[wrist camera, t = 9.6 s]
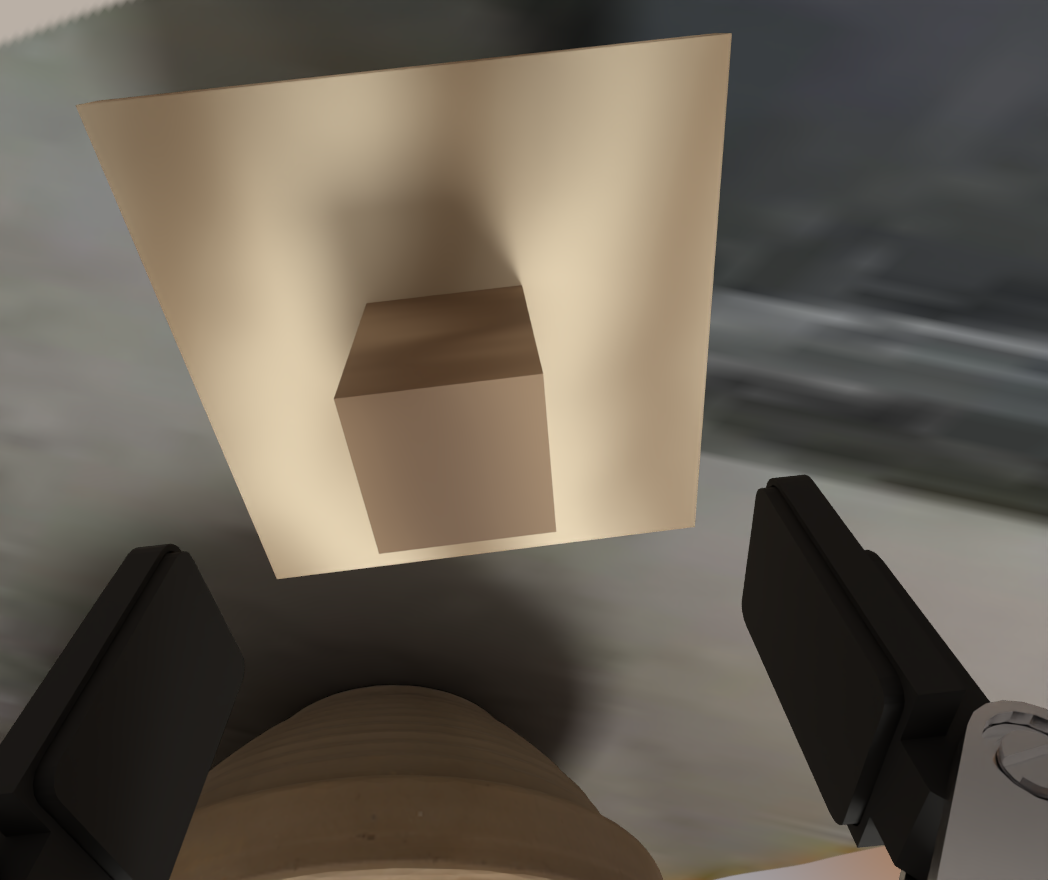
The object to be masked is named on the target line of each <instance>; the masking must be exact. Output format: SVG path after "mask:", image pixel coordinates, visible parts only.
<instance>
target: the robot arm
mask: <svg viewBox="0 0 1048 880" xmlns="http://www.w3.org/2000/svg"><path fill="white" fill-rule="evenodd" d="M742 612H743V617H744V621H745V623H746V626H747V628H748V630H749V633H750V635H751V637H752V639H753V642H754V644H755V646H756V648H757V651H758V653H759V655H760V657H761V660H762V662H763V664H764V666H765V669H766V671H767V673H768V675H769V678H770V680H771V682H772V684H773V687H774V689H775V691H776V693H777V696H778V698H779V700H780V702H781V705H782V707H783V709H784V711H785V714H786V716H787V718H788V720H789V723H790V725H791V727H792V729H793V731H794V734H795V736H796V738H797V740H798V743H799V745H800V747H801V749H802V752H803V754H804V756H805V758H806V761H807V763H808V765H809V767H810V770H811V772H812V774H813V776H814V779H815V781H816V783H817V785H818V788H819V790H820V792H821V794H822V797H823V799H824V801H825V803H826V806H827V808H828V810H829V812H830V814H831V816H832V818H833V819H834V821H835V822H836V823H837V824H839V825H846V824H847V826H848V828H849V830H850V832H851V835H852V837H853V839H854V841H855V843H856V845H857V848H859V847H868V846H878V845H885V847H886V849H887V851H888V853H889V855H890V857H891V859H892V861H893V863H894V865H895V866H896V867H898V868H900V869H901V873H900V878H899V880H1048V710H1047V709H1045V708H1042V707H1038V706H1035V705H1032V704H1028V703H1025V702H1018V701H1006V700H1001V701H996V702H991V703H990V701H989V700H988V699H987V697H986V696H985V695H984V693H983V692H982V691H981V689H980V688H979V687H978V685H977V684H976V683H975V682H974V680H973V679H972V678H971V676H970V675H969V674H968V672H967V671H966V670H965V668H964V667H963V666H962V664H961V663H960V662H959V660H958V659H957V658H956V656H955V655H954V654H953V652H952V651H951V650H950V649H949V647H948V646H947V645H946V643H945V642H944V641H943V639H942V638H941V637H940V635H939V634H938V633H937V631H936V630H935V629H934V627H933V626H932V625H931V623H930V622H929V621H928V619H927V618H926V617H925V616H924V614H923V613H922V612H921V610H920V609H919V608H918V606H917V605H916V604H915V602H914V601H913V600H912V598H911V597H910V596H909V594H908V593H907V592H906V590H905V589H904V588H903V586H902V585H901V584H900V582H899V581H898V580H897V579H896V577H895V576H894V575H893V573H892V572H891V571H890V569H889V568H888V567H887V565H886V564H885V563H884V561H883V560H882V559H881V558H880V557H879V556H878V555H877V554H876V553H874V552H872V551H870V550H864V549H863V548H862V547H861V545H860V544H859V543H858V541H857V540H856V538H855V537H854V536H853V534H852V533H851V532H850V530H849V529H848V528H847V526H846V525H845V523H844V522H843V521H842V519H841V518H840V517H839V515H838V514H837V513H836V511H835V510H834V509H833V507H832V506H831V504H830V503H829V502H828V500H827V499H826V498H825V496H824V495H823V494H822V492H821V491H820V490H819V488H818V487H817V485H816V484H815V483H814V481H813V480H812V479H811V478H810V477H809V476H807V475H797V476H788V477H779V478H772V479H769V481H768V483H767V486H766V488H760V489H758V491H757V494H756V500H755V507H754V514H753V522H752V529H751V537H750V544H749V552H748V559H747V567H746V574H745V582H744V589H743V596H742ZM243 676H244V659H243V656H242V654H241V652H240V650H239V648H238V646H237V644H236V642H235V640H234V638H233V636H232V634H231V632H230V630H229V628H228V626H227V624H226V622H225V621H224V619H223V617H222V615H221V613H220V611H219V609H218V607H217V605H216V603H215V601H214V599H213V597H212V595H211V593H210V591H209V589H208V587H207V585H206V584H205V582H204V580H203V578H202V576H201V574H200V572H199V570H198V568H197V566H196V564H195V562H194V560H193V558H192V557H191V555H190V554H189V553H188V552H184V551H183V552H182V551H181V550H180V549H179V547H177V546H176V545H174V544H165V545H156V546H147V547H138V548H135V549H133V550H132V551H131V552H130V553H129V554H128V555H127V557H126V558H125V560H124V561H123V563H122V564H121V566H120V567H119V569H118V570H117V572H116V573H115V575H114V576H113V578H112V579H111V581H110V582H109V584H108V585H107V586H106V588H105V589H104V591H103V592H102V594H101V595H100V597H99V598H98V600H97V601H96V603H95V604H94V606H93V607H92V609H91V610H90V612H89V613H88V615H87V616H86V618H85V619H84V621H83V622H82V624H81V625H80V627H79V628H78V630H77V631H76V633H75V634H74V636H73V637H72V639H71V640H70V641H69V643H68V644H67V646H66V647H65V649H64V650H63V652H62V653H61V655H60V656H59V658H58V659H57V661H56V662H55V664H54V665H53V667H52V668H51V670H50V671H49V673H48V674H47V676H46V677H45V679H44V680H43V682H42V683H41V685H40V686H39V688H38V689H37V691H36V692H35V694H34V695H33V696H32V698H31V699H30V701H29V702H28V704H27V705H26V707H25V708H24V710H23V711H22V713H21V714H20V716H19V717H18V719H17V720H16V722H15V723H14V725H13V726H12V728H11V729H10V731H9V732H8V734H7V735H6V737H5V738H4V740H3V741H2V743H1V744H0V880H169V879H170V876H171V873H172V871H173V868H174V865H175V862H176V860H177V857H178V854H179V852H180V849H181V846H182V843H183V841H184V838H185V835H186V833H187V830H188V827H189V824H190V822H191V819H192V816H193V813H194V811H195V808H196V805H197V803H198V800H199V797H200V794H201V792H202V789H203V786H204V783H205V781H206V778H207V775H208V773H209V770H210V767H211V764H212V762H213V759H214V756H215V753H216V751H217V748H218V745H219V743H220V740H221V737H222V734H223V732H224V729H225V726H226V723H227V721H228V718H229V715H230V713H231V710H232V707H233V704H234V702H235V699H236V696H237V693H238V691H239V688H240V685H241V683H242V680H243Z"/></svg>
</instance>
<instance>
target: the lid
mask: <svg viewBox="0 0 1048 880" xmlns="http://www.w3.org/2000/svg"><path fill="white" fill-rule="evenodd" d="M731 35H732V33H713V34H704V35H695V36H686V37H676V38H667V39H658V40H649V41H640V42H631V43H622V44H612V45H603V46H594V47H585V48H576V49H567V50H558V51H548V52H539V53H530V54H521V55H512V56H503V57H494V58H485V59H475V60H466V61H457V62H448V63H439V64H430V65H421V66H411V67H402V68H393V69H384V70H375V71H366V72H357V73H347V74H338V75H329V76H320V77H311V78H302V79H293V80H284V81H274V82H265V83H256V84H247V85H238V86H229V87H220V88H210V89H201V90H192V91H183V92H174V93H165V94H156V95H146V96H137V97H128V98H119V99H110V100H101V101H95V102H90V103H85V104H80V105H76V107H77V110H78V112H79V114H80V117H81V119H82V122H83V124H84V126H85V129H86V131H87V133H88V136H89V138H90V140H91V143H92V145H93V147H94V150H95V152H96V154H97V157H98V159H99V162H100V164H101V166H102V169H103V171H104V173H105V176H106V178H107V180H108V183H109V185H110V187H111V190H112V192H113V194H114V197H115V199H116V202H117V204H118V206H119V209H120V211H121V213H122V216H123V218H124V220H125V223H126V225H127V227H128V230H129V232H130V234H131V237H132V239H133V241H134V244H135V246H136V249H137V251H138V253H139V256H140V258H141V260H142V263H143V265H144V267H145V270H146V272H147V274H148V277H149V279H150V281H151V284H152V286H153V289H154V291H155V293H156V296H157V298H158V300H159V303H160V305H161V307H162V310H163V312H164V314H165V317H166V319H167V321H168V324H169V326H170V329H171V331H172V333H173V336H174V338H175V340H176V343H177V345H178V347H179V350H180V352H181V354H182V357H183V359H184V361H185V364H186V366H187V368H188V371H189V373H190V376H191V378H192V380H193V383H194V385H195V387H196V390H197V392H198V394H199V397H200V399H201V401H202V404H203V406H204V408H205V411H206V413H207V416H208V418H209V420H210V423H211V425H212V427H213V430H214V432H215V434H216V437H217V439H218V441H219V444H220V446H221V448H222V451H223V453H224V456H225V458H226V460H227V463H228V465H229V467H230V470H231V472H232V474H233V477H234V479H235V481H236V484H237V486H238V488H239V491H240V493H241V496H242V498H243V500H244V503H245V505H246V507H247V510H248V512H249V514H250V517H251V519H252V521H253V524H254V526H255V528H256V531H257V533H258V535H259V538H260V540H261V543H262V545H263V547H264V550H265V552H266V554H267V557H268V559H269V561H270V564H271V566H272V568H273V571H274V573H275V575H276V578H277V579H282V578H290V577H298V576H306V575H314V574H322V573H330V572H338V571H346V570H354V569H362V568H370V567H378V566H386V565H394V564H402V563H410V562H418V561H426V560H434V559H442V558H450V557H458V556H466V555H474V554H482V553H490V552H497V551H505V550H513V549H521V548H529V547H537V546H545V545H553V544H561V543H569V542H577V541H585V540H593V539H601V538H609V537H617V536H625V535H633V534H641V533H649V532H657V531H665V530H673V529H681V528H689V527H695V515H696V502H697V489H698V475H699V462H700V449H701V435H702V422H703V409H704V395H705V382H706V369H707V355H708V342H709V329H710V315H711V302H712V289H713V275H714V262H715V249H716V235H717V222H718V209H719V195H720V182H721V169H722V155H723V142H724V129H725V115H726V102H727V89H728V75H729V62H730V49H731Z"/></svg>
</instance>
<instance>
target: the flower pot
mask: <svg viewBox="0 0 1048 880" xmlns="http://www.w3.org/2000/svg"><path fill="white" fill-rule="evenodd" d="M169 880H663V878H662V875H661V873H660V870H659V868H658V867H657V865H656V863H655V861H654V859H653V858H652V857H651V855H650V854H649V852H648V851H647V850H646V849H645V848H644V846H643V845H642V844H641V843H640V842H639V841H638V840H637V839H636V838H635V837H634V836H632V835H631V834H630V833H629V832H627V831H626V830H625V829H623V828H622V827H620V826H619V825H618V824H616V823H615V822H613V821H611V820H609V819H608V818H606V817H604V816H602V815H601V814H600V813H599V811H598V810H597V808H596V807H595V806H594V805H593V804H592V803H591V801H590V800H589V799H588V797H587V796H586V794H585V793H584V792H583V791H582V790H581V789H580V787H579V786H578V785H577V784H575V783H574V782H573V781H572V780H571V779H570V778H569V777H567V776H566V774H564V773H563V772H562V771H561V770H560V769H559V768H558V766H556V765H555V764H554V763H553V762H552V761H551V760H550V759H549V758H548V757H546V756H545V755H544V754H542V753H541V752H540V751H539V750H538V749H537V748H536V747H534V746H533V745H531V744H530V743H529V742H528V741H526V740H525V739H524V738H522V737H521V736H519V735H518V734H517V733H515V732H514V731H513V730H511V729H510V728H508V727H507V726H505V725H504V724H502V723H500V722H499V721H497V720H495V719H494V718H493V717H492V716H491V715H490V714H489V713H487V712H486V711H485V710H484V709H482V708H481V707H479V706H477V705H476V704H474V703H472V702H470V701H468V700H466V699H464V698H461V697H459V696H456V695H453V694H451V693H447V692H444V691H440V690H436V689H431V688H425V687H419V686H408V685H379V686H370V687H363V688H357V689H353V690H348V691H345V692H341V693H337V694H334V695H331V696H329V697H326V698H324V699H322V700H319V701H317V702H315V703H313V704H311V705H309V706H307V707H305V708H303V709H302V710H301V711H299V712H298V713H296V714H295V715H294V716H292V717H291V718H289V719H287V720H285V721H284V722H282V723H279V724H278V725H276V726H274V727H272V728H271V729H269V730H267V731H266V732H264V733H263V734H261V735H260V736H258V737H256V738H255V739H253V740H252V741H250V742H249V743H247V744H246V745H245V746H243V747H241V748H240V749H238V750H237V751H236V752H234V753H233V754H232V755H230V756H229V757H228V758H226V759H225V760H223V761H222V762H221V763H219V764H218V765H217V766H215V767H214V768H213V769H212V770H210V771H209V773H208V775H207V778H206V781H205V783H204V786H203V789H202V792H201V794H200V797H199V800H198V803H197V805H196V808H195V811H194V813H193V816H192V819H191V822H190V824H189V827H188V830H187V833H186V835H185V838H184V841H183V843H182V846H181V849H180V852H179V854H178V857H177V860H176V862H175V865H174V868H173V871H172V873H171V876H170V879H169Z"/></svg>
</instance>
